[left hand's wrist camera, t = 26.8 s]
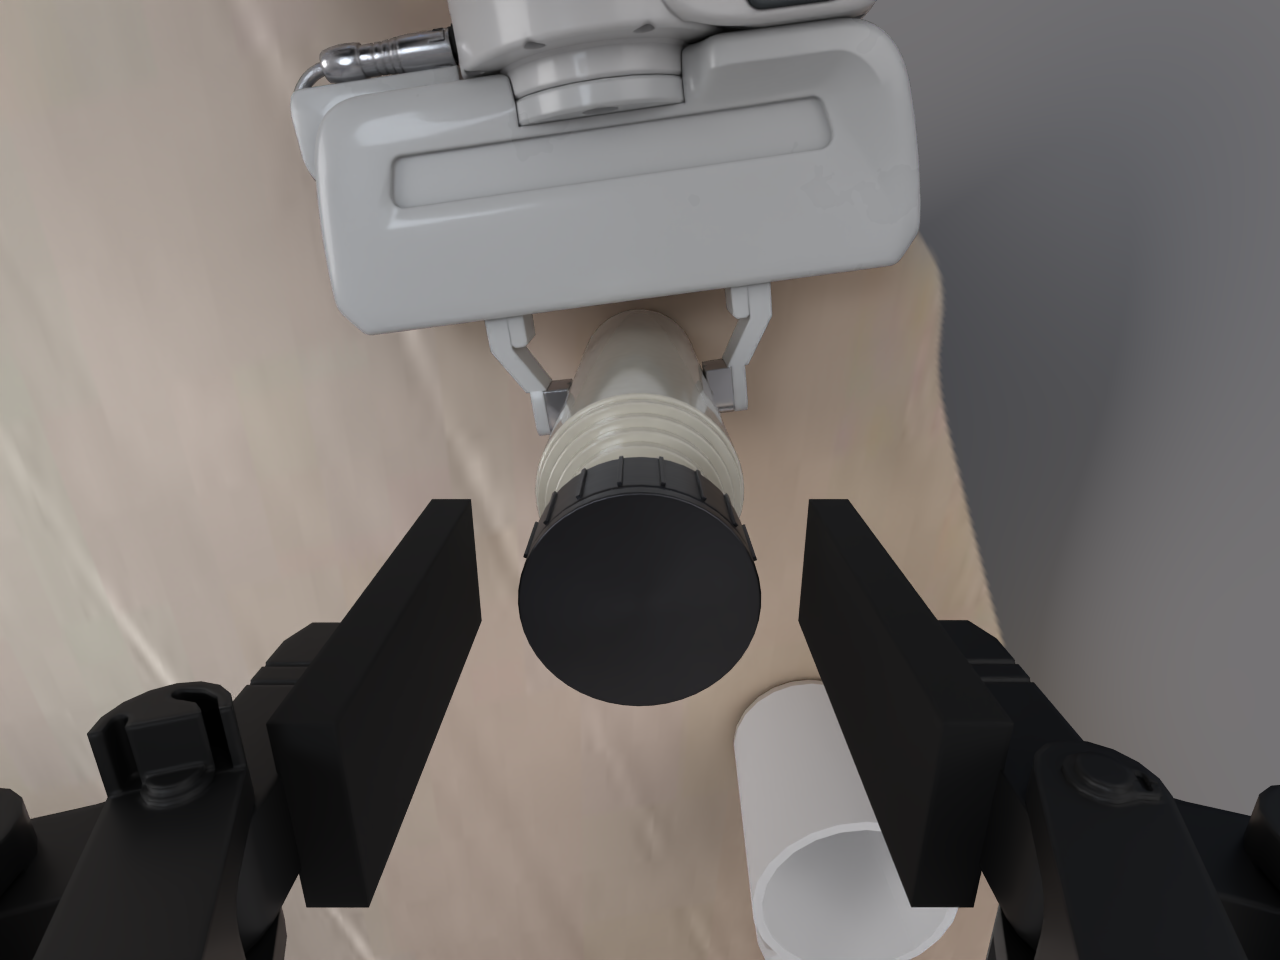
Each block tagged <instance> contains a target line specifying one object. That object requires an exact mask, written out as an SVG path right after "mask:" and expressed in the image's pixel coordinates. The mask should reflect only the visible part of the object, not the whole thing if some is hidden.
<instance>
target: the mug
mask: <svg viewBox="0 0 1280 960" xmlns="http://www.w3.org/2000/svg"><path fill="white" fill-rule="evenodd" d="M733 742H734V751H735V759H736V768H737V777H738V785H739V794H740V803H741V812H742V821H743V830H744V839H745V848H746V857H747V866H748V875H749V884H750V892H751V901H752V910H753V918H754V923H755V927H756V934H757V941H758V945H759V948H760V950H761V952H762V954H763V956H764V958H765V960H910V959H912V958H914V957H916V956H918V955H920V954H921V953H923V952H924V951H925V950H926V949H928V948H929V947H930V946H931V945H933V944H934V943H935V942H936V941H938V940H939V939H940V938H941V936H942V935H943V934H944V933H945V931H946V930H947V929H948V927H949V926H950V925H951V924H952V922H953V920H954V918H955V915H956V913H957V910H958V907H911V906H910V903H909V901H908V898H907V895H906V893H905V890H904V888H903V885H902V883H901V880H900V878H899V875H898V873H897V870H896V868H895V865H894V862H893V860H892V857H891V855H890V852H889V850H888V847H887V845H886V842H885V840H884V837H883V834H882V832H881V829H880V827H879V824H878V822H877V819H876V817H875V814H874V812H873V809H872V807H871V804H870V801H869V799H868V796H867V794H866V791H865V789H864V786H863V784H862V781H861V779H860V776H859V774H858V771H857V768H856V766H855V763H854V761H853V758H852V756H851V753H850V751H849V748H848V746H847V743H846V741H845V738H844V735H843V733H842V730H841V728H840V725H839V723H838V720H837V718H836V715H835V713H834V710H833V708H832V705H831V702H830V700H829V697H828V695H827V692H826V690H825V687H824V685H823V682H822V681H818V680H801V681H792V682H788V683H785V684H783V685H780V686H777V687H774V688H772V689H770V690H769V691H767V692H765V693H764V694H762V695H761V696H759V697H758V698H757V699H756V700H755V701H754V702H753V703H752V704H751V705H750V706H749V707H748V708H747V709H746V710H745V712H744V713H743V715H742V717H741V719H740V721H739V722H738V724H737V726H736V731H735V736H734V740H733Z"/></svg>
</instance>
